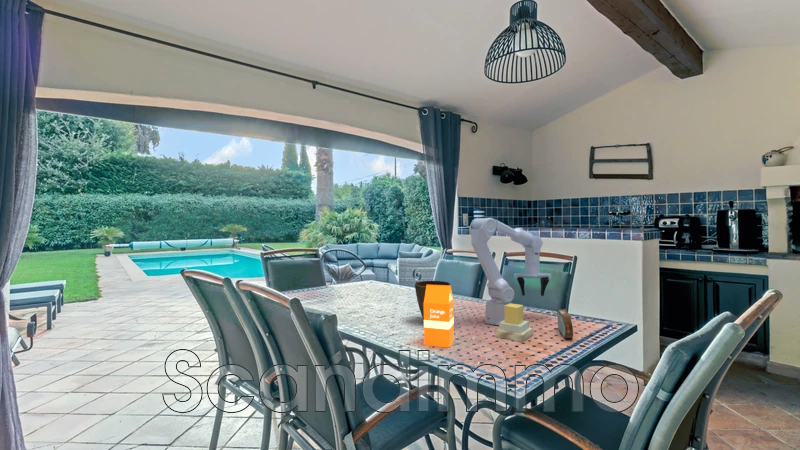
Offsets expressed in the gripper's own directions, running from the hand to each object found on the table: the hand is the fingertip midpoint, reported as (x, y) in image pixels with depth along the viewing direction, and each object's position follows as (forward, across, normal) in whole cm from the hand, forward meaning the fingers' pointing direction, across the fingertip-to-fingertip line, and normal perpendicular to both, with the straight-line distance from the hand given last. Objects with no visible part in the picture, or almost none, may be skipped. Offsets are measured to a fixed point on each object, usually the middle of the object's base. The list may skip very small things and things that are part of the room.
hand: (532, 295), depth 150 cm
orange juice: (+10, -38, -33) cm, 52 cm away
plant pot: (+10, -42, -8) cm, 44 cm away
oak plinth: (+10, -11, -24) cm, 28 cm away
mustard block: (+5, -11, -24) cm, 27 cm away
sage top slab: (+7, -11, -24) cm, 27 cm away
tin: (+10, +7, -20) cm, 24 cm away
